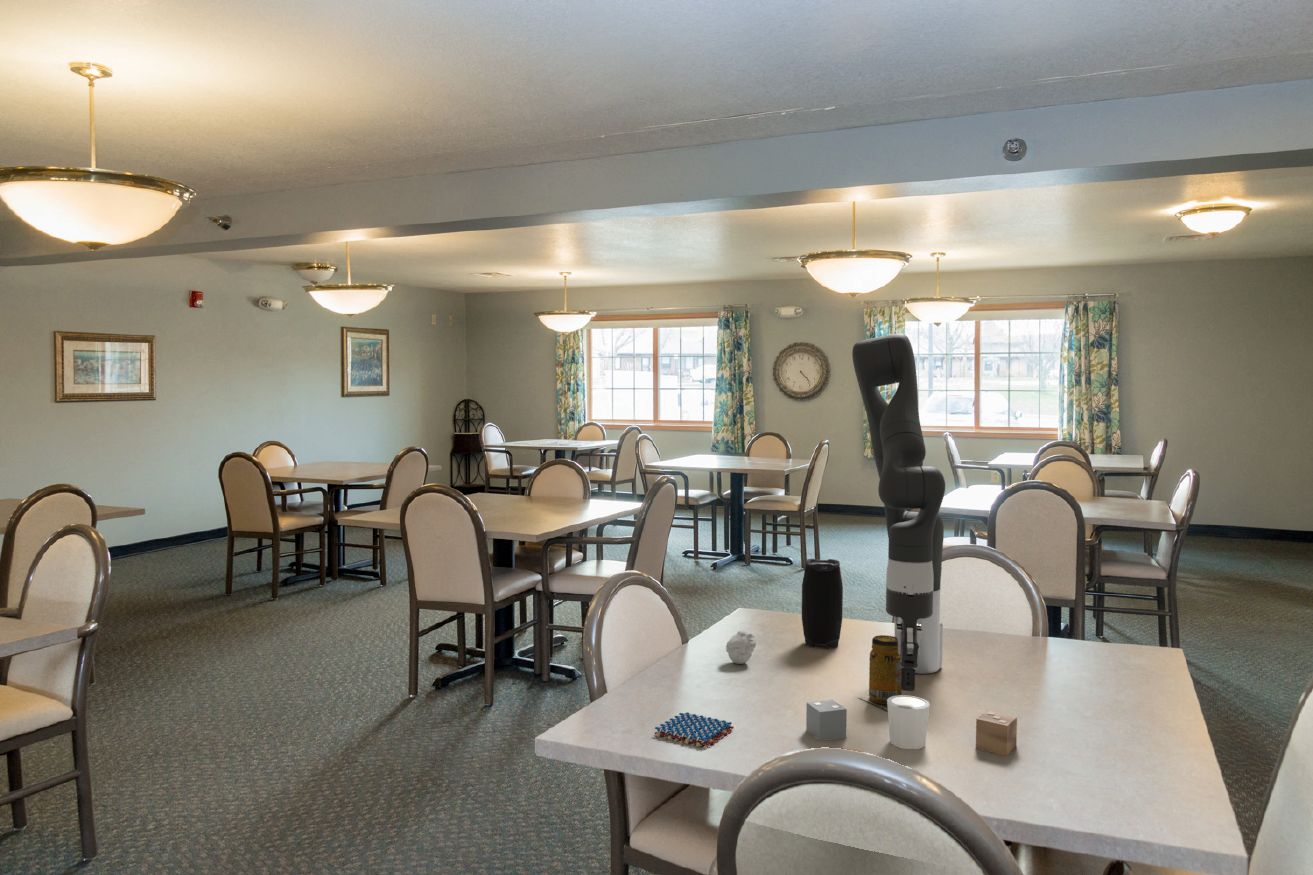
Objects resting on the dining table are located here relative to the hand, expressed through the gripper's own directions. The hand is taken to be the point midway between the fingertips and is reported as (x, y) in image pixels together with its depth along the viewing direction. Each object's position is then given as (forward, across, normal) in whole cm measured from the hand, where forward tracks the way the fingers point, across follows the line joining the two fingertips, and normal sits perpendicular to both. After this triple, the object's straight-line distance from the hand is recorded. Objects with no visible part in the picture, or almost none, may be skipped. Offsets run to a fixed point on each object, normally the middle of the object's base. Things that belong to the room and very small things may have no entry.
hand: (907, 689), depth 150 cm
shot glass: (+9, 0, 0) cm, 9 cm away
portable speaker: (+9, -57, -17) cm, 60 cm away
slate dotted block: (+9, -1, -13) cm, 16 cm away
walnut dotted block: (+9, -2, +14) cm, 17 cm away
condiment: (+9, -20, -3) cm, 22 cm away
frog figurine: (+9, -38, -33) cm, 51 cm away
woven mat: (+10, +4, -35) cm, 37 cm away
